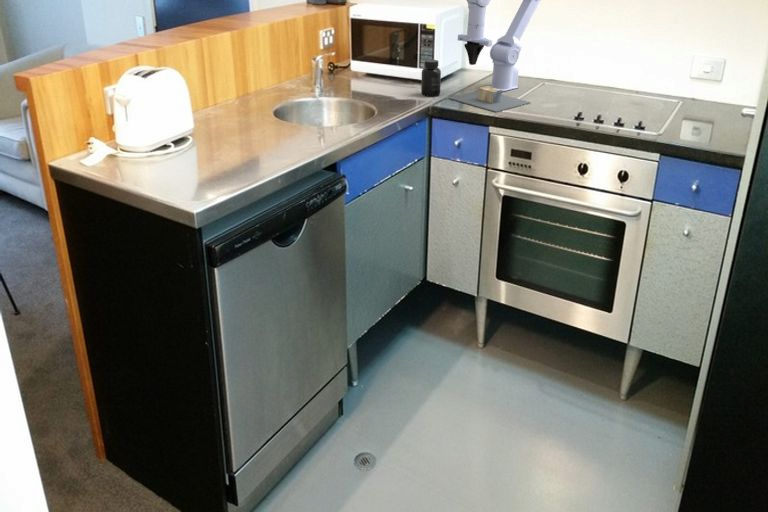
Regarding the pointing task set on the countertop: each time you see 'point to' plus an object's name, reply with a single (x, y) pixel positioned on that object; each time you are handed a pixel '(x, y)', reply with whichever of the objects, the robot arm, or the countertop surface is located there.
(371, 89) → the countertop surface
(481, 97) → the beech block
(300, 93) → the countertop surface
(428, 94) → the supplement bottle
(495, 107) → the rubber mat
